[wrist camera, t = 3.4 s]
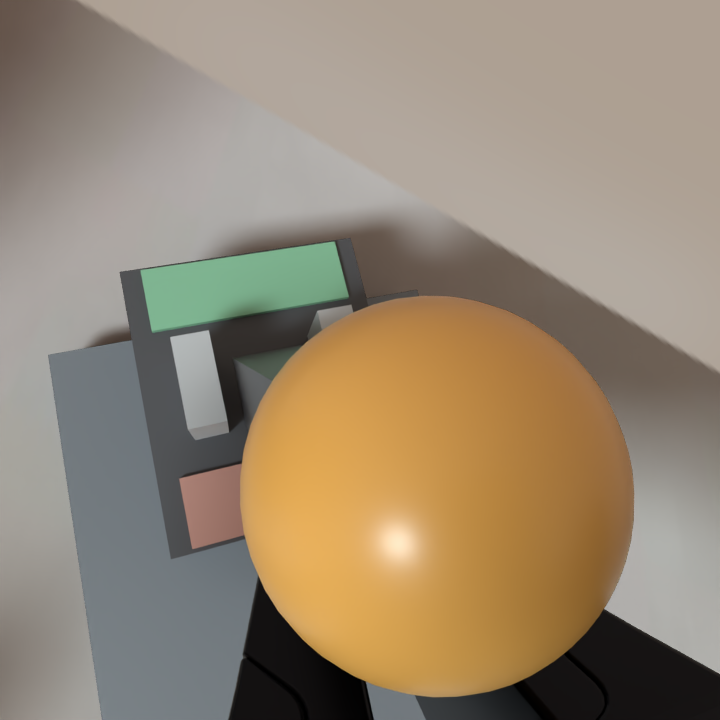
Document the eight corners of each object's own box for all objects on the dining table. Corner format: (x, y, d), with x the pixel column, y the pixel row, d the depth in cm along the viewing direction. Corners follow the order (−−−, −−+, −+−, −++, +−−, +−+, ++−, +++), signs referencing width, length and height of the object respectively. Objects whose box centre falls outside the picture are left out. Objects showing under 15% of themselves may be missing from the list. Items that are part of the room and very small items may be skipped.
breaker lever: (336, 426, 14) (772, 704, 3) (228, 451, 13) (321, 909, 2) (316, 320, 14) (710, 236, 3) (206, 341, 13) (199, 327, 2)
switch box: (560, 867, 16) (731, 1059, 11) (169, 1058, 14) (119, 1453, 8) (396, 278, 20) (459, 188, 14) (59, 335, 17) (-30, 252, 12)
